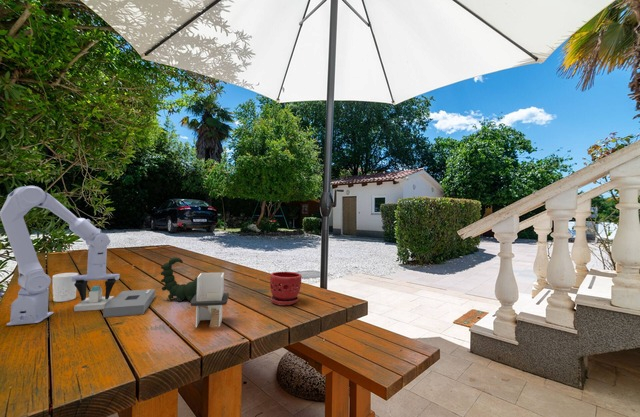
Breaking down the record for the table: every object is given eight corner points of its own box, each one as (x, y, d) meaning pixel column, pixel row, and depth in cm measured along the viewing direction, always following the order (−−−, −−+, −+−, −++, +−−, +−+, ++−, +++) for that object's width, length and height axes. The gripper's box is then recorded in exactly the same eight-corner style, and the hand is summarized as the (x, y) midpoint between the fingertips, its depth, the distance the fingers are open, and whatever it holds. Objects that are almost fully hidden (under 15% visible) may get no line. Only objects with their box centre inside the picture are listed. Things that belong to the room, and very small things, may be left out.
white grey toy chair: (156, 343, 80) (158, 285, 81) (178, 313, 104) (179, 268, 104) (246, 336, 86) (248, 282, 87) (248, 309, 110) (249, 267, 110)
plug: (97, 307, 107) (98, 287, 107) (88, 307, 106) (89, 288, 106) (101, 303, 111) (102, 284, 111) (93, 304, 110) (93, 285, 110)
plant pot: (295, 308, 112) (296, 278, 113) (264, 305, 115) (265, 275, 115) (304, 299, 125) (304, 271, 125) (275, 296, 128) (276, 269, 128)
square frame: (104, 309, 105) (104, 304, 105) (74, 311, 102) (74, 306, 102) (113, 300, 115) (114, 295, 115) (86, 302, 112) (86, 297, 112)
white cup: (65, 302, 111) (66, 277, 111) (45, 302, 111) (46, 276, 111) (82, 296, 119) (83, 272, 119) (64, 296, 119) (65, 272, 119)
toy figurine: (158, 307, 114) (220, 303, 114) (155, 260, 114) (217, 256, 115) (170, 299, 124) (227, 296, 124) (168, 256, 124) (225, 253, 124)
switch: (143, 314, 101) (143, 304, 102) (103, 317, 97) (103, 307, 97) (155, 296, 122) (155, 288, 122) (122, 298, 118) (122, 290, 118)
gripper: (122, 261, 115) (120, 294, 115) (78, 262, 110) (76, 297, 110) (117, 264, 109) (115, 300, 108) (69, 265, 104) (68, 303, 103)
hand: (95, 299), depth 109 cm, fingers open, 7 cm apart
